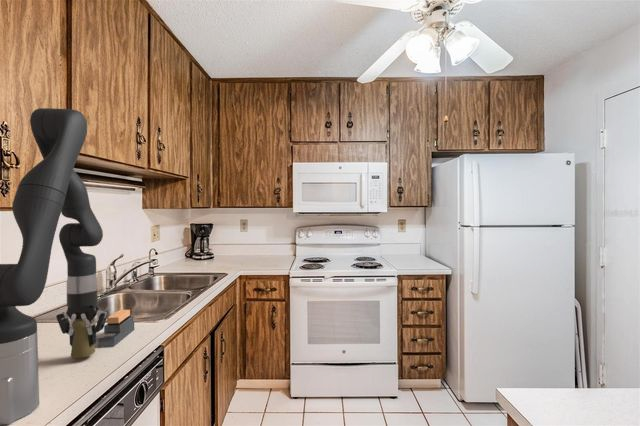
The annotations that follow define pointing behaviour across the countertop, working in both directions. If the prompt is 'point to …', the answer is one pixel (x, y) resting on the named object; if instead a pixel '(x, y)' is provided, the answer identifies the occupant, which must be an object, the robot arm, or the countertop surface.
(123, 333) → the grey slotted housing
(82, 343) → the cork
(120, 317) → the orange button
